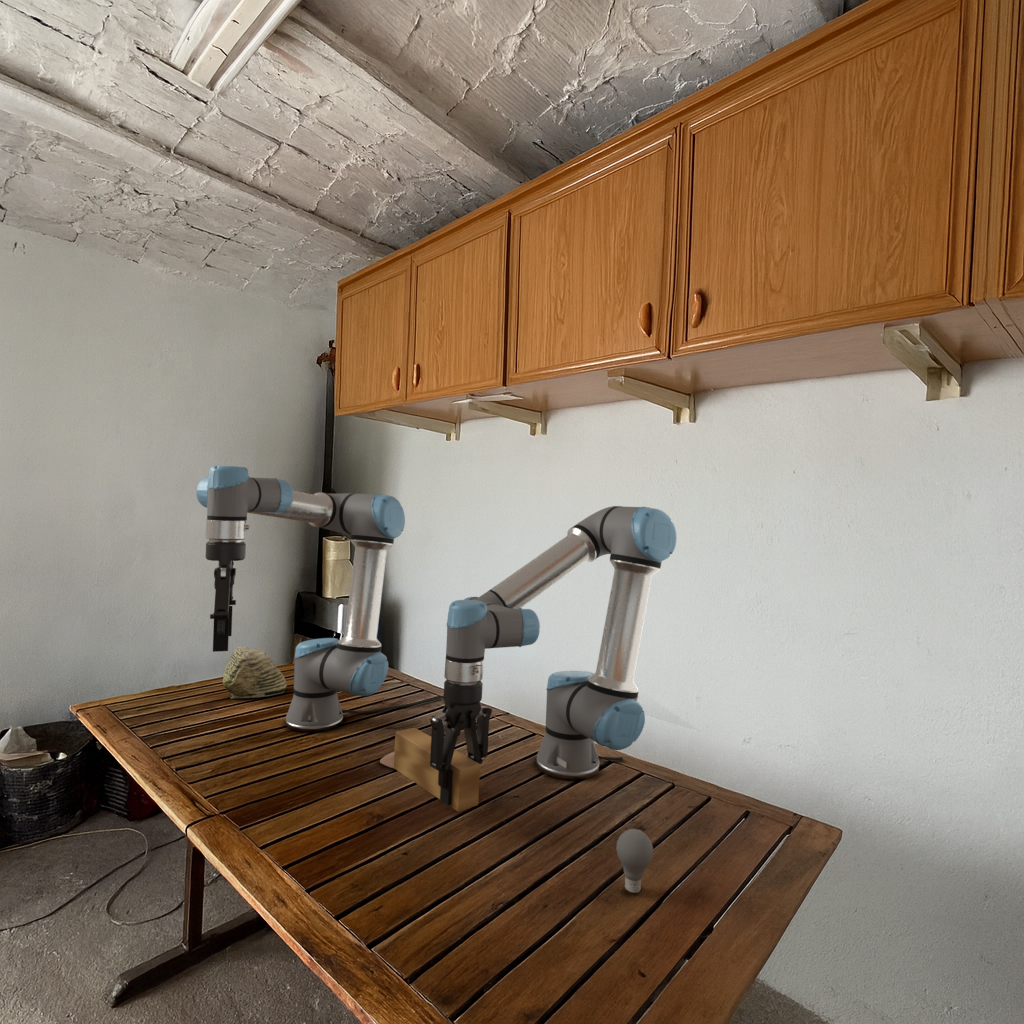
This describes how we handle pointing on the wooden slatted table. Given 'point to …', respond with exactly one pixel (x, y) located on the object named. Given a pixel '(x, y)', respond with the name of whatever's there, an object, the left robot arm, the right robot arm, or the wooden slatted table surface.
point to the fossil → (252, 674)
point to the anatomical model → (388, 760)
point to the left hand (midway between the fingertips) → (222, 643)
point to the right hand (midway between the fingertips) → (457, 798)
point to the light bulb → (634, 857)
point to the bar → (416, 766)
